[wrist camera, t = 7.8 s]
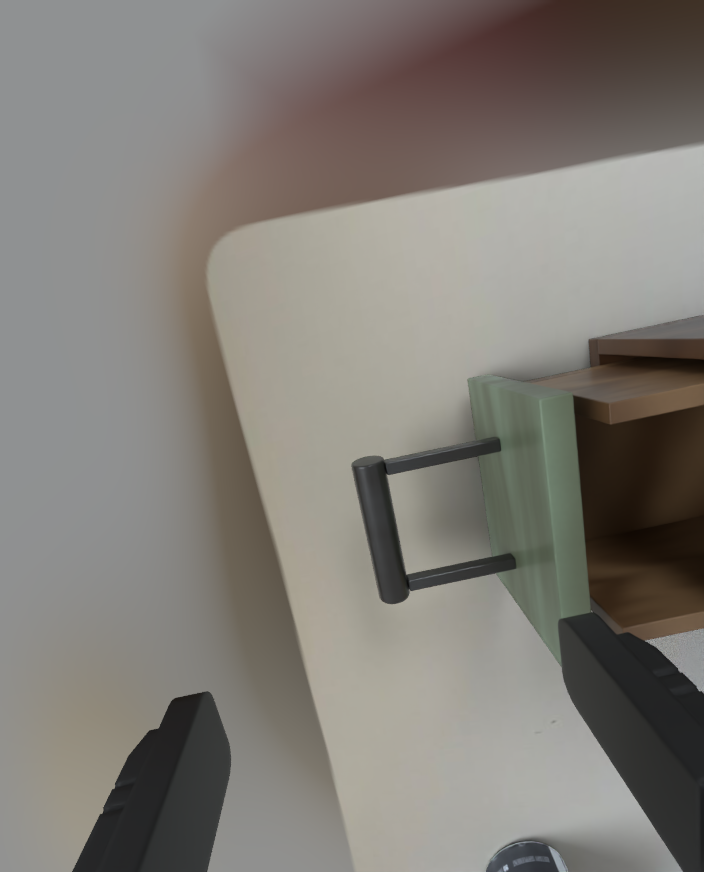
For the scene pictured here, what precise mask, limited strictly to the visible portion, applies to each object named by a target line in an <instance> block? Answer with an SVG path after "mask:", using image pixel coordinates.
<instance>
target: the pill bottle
mask: <svg viewBox="0 0 704 872" xmlns="http://www.w3.org/2000/svg"><path fill="white" fill-rule="evenodd" d="M486 872H568V869H567V867H566V865H565V863H564V861H563V859H562V857H561V856H560V854H559V853H558V852H557V851H556V850H554V849H553V848H552V847H550V846H548V845H546V844H543V843H539V842H533V841H525V842H519V843H515V844H512V845H509V846H507V847H505V848H504V849H502V850H501V851H499V852H498V853H497V854H496V855H495V856H494V857H493V858H492V860H491V861H490V863H489V865H488V867H487V870H486Z"/></svg>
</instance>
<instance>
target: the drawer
mask: <svg viewBox="0 0 704 872" xmlns="http://www.w3.org/2000/svg"><path fill="white" fill-rule="evenodd" d="M468 387H469V394H470V401H471V409H472V416H473V423H474V430H475V437H476V441H472V442H467V443H462V444H457V445H453V446H448V447H443V448H438V449H434V450H429V451H424V452H419V453H415V454H410V455H405V456H400V457H396V458H391V459H386V460H384V459H383V457H381V456H367V457H363V458H360V459H357V460H355V461H354V462H353V463H352V465H351V467H352V471H353V476H354V481H355V485H356V490H357V495H358V499H359V504H360V509H361V513H362V518H363V523H364V527H365V532H366V537H367V541H368V546H369V550H370V555H371V560H372V564H373V569H374V574H375V578H376V583H377V588H378V592H379V597H380V599H381V600H382V601H383V602H385V603H387V604H397V603H400V602H403V601H404V600H406V599H407V598H408V596H409V593H410V591H413V590H418V589H423V588H428V587H432V586H437V585H442V584H447V583H451V582H456V581H461V580H466V579H471V578H475V577H480V576H485V575H490V574H494V573H496V574H497V576H498V577H499V578H500V580H501V581H502V583H503V584H504V586H505V587H506V588H507V590H508V591H509V593H510V594H511V596H512V597H513V598H514V600H515V601H516V603H517V604H518V606H519V607H520V608H521V610H522V611H523V613H524V614H525V616H526V617H527V618H528V620H529V621H530V623H531V624H532V626H533V627H534V628H535V630H536V631H537V633H538V634H539V636H540V637H541V638H542V640H543V641H544V643H545V644H546V646H547V647H548V648H549V650H550V651H551V653H552V654H553V656H554V657H555V658H556V660H557V661H558V663H559V664H560V666H561V667H562V663H561V653H560V643H559V634H558V621H559V619H562V618H567V617H571V616H576V615H581V614H586V613H590V612H591V610H592V611H593V612H594V613H596V614H597V615H599V616H600V617H601V618H602V619H603V620H604V622H605V623H606V624H607V625H608V626H609V627H610V628H611V629H612V630H613V631H614V632H615V633H616V634H621V633H626V632H629V633H631V634H633V635H635V636H636V637H638V638H640V639H642V640H644V641H645V640H650V639H654V638H659V637H664V636H669V635H674V634H678V633H683V632H688V631H693V630H698V629H702V628H704V360H702V359H682V358H663V357H638V358H633V359H628V360H624V361H619V362H614V363H609V364H605V365H600V366H595V367H590V368H586V369H581V370H576V371H571V372H567V373H562V374H557V375H552V376H548V377H543V378H538V379H533V380H529V381H524V382H522V381H517V380H512V379H508V378H503V377H499V376H494V375H489V374H488V375H483V376H478V377H473V378H469V379H468ZM477 456H478V458H479V465H480V473H481V480H482V487H483V494H484V501H485V508H486V515H487V522H488V529H489V536H490V544H491V551H492V557H488V558H484V559H479V560H474V561H469V562H465V563H460V564H455V565H450V566H445V567H441V568H436V569H431V570H426V571H422V572H417V573H412V574H407V575H406V570H405V565H404V560H403V555H402V550H401V545H400V540H399V534H398V529H397V524H396V519H395V514H394V509H393V504H392V499H391V494H390V488H389V483H388V478H387V475H391V474H396V473H401V472H405V471H410V470H415V469H420V468H424V467H429V466H434V465H439V464H443V463H448V462H453V461H458V460H462V459H467V458H472V457H477ZM409 589H410V591H409Z"/></svg>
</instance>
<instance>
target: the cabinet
mask: <svg viewBox="0 0 704 872" xmlns="http://www.w3.org/2000/svg"><path fill="white" fill-rule="evenodd" d="M589 350H590V364H591V367H595V366H600V365H605V364H609V363H614V362H619V361H624V360H628V359H633V358H638V357H663V358H682V359H702V360H704V315H701V316H696V317H692V318H687V319H682V320H677V321H673V322H668V323H663V324H658V325H654V326H649V327H644V328H639V329H635V330H630V331H625V332H620V333H616V334H611V335H606V336H601V337H597V338H592V339H589Z"/></svg>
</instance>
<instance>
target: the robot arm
mask: <svg viewBox="0 0 704 872" xmlns="http://www.w3.org/2000/svg"><path fill="white" fill-rule="evenodd" d="M558 634H559V643H560V653H561V663H562V673H563V678H564V682H565V685H566V688H567V691H568V693H569V695H570V698H571V700H572V702H573V703H574V705H575V707H576V708H577V710H578V712H579V713H580V715H581V716H582V718H583V719H584V721H585V722H586V724H587V725H588V727H589V728H590V730H591V731H592V733H593V734H594V736H595V738H596V739H597V741H598V742H599V744H600V745H601V747H602V748H603V750H604V751H605V753H606V754H607V756H608V757H609V759H610V760H611V762H612V764H613V765H614V767H615V768H616V770H617V771H618V773H619V774H620V776H621V777H622V779H623V780H624V782H625V783H626V785H627V786H628V788H629V789H630V791H631V793H632V794H633V796H634V797H635V799H636V800H637V802H638V803H639V805H640V806H641V808H642V809H643V811H644V812H645V814H646V815H647V817H648V819H649V820H650V822H651V823H652V825H653V826H654V828H655V829H656V831H657V832H658V834H659V835H660V837H661V838H662V840H663V841H664V843H665V845H666V846H667V848H668V849H669V851H670V852H671V854H672V855H673V857H674V858H675V860H676V861H677V863H678V864H679V866H680V867H681V869H682V871H683V872H704V693H703V692H702V691H700V692H699V691H698V689H697V687H696V686H695V685H694V684H693V683H692V682H691V681H690V680H689V679H688V678H687V677H686V676H685V675H684V674H683V673H680V672H679V671H678V668H677V667H676V666H675V665H674V664H673V663H672V662H671V661H670V660H668V659H667V658H666V657H665V656H664V655H663V654H662V653H661V652H660V651H659V650H658V649H657V648H656V647H654V646H653V645H651V644H649V643H647V642H645V641H644V640H642V639H640V638H638V637H636V636H635V635H633V634H631V633H629V632H626V633H621V634H616V633H615V632H614V631H613V630H612V629H611V628H610V627H609V626H608V625H607V624H606V623H605V622H604V620H603V619H602V618H601V617H600V616H599V615H597V614H596V613H594V612H590V613H586V614H581V615H576V616H571V617H567V618H562V619H559V621H558ZM230 767H231V754H230V746H229V742H228V739H227V736H226V733H225V730H224V727H223V724H222V722H221V719H220V716H219V713H218V710H217V708H216V705H215V702H214V699H213V697H212V695H211V693H210V692H202V693H197V694H192V695H188V696H183V697H178V698H175V699H173V700H172V701H171V703H170V705H169V706H168V709H167V711H166V713H165V715H164V718H163V720H162V722H161V724H160V727H159V729H154V730H150V731H149V732H148V733H147V734H146V735H145V736H144V738H143V739H142V740H141V741H140V743H139V744H138V745H137V746H136V748H135V749H134V750H133V751H132V752H131V754H130V755H129V756H128V758H127V760H126V762H125V765H124V766H123V768H122V770H121V773H120V775H119V777H118V779H117V781H116V783H115V789H112V791H111V793H110V795H109V797H108V799H107V801H106V803H105V805H104V807H103V808H104V811H103V814H100V816H99V818H98V820H97V822H96V824H95V826H94V828H93V830H92V832H91V834H90V836H89V838H88V841H87V842H86V844H85V846H84V849H83V851H82V853H81V855H80V857H79V859H78V861H77V863H76V865H75V868H74V869H73V871H72V872H207V870H208V865H209V861H210V857H211V852H212V848H213V844H214V840H215V836H216V831H217V827H218V823H219V819H220V814H221V810H222V806H223V802H224V797H225V793H226V789H227V785H228V780H229V776H230Z"/></svg>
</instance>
